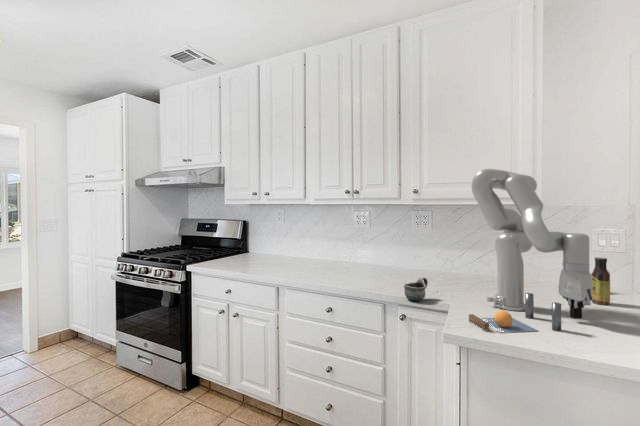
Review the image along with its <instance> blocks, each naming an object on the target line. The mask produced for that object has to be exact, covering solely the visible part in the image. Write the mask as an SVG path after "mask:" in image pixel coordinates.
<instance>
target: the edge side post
mask: <svg viewBox="0 0 640 426" xmlns="http://www.w3.org/2000/svg"><path fill="white" fill-rule="evenodd" d="M551 330H552V331H554V332H562V303H560V302H551Z"/></svg>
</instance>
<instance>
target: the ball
mask: <svg viewBox="0 0 640 426" xmlns="http://www.w3.org/2000/svg"><path fill="white" fill-rule="evenodd" d="M493 318H494V320H495V322H496V324H497V325H499V326H500V327H509V326H510V325H511V324H512V321H513V319H512V318H513V317H512V315H511V313H509V312H508V311H506V310H498V311H497V312H495V314H494V317H493Z"/></svg>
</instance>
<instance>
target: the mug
mask: <svg viewBox="0 0 640 426" xmlns="http://www.w3.org/2000/svg"><path fill="white" fill-rule="evenodd" d="M428 282H429V281H428V279H427V278H426V277H424V276H420V277H418V278H417V280H416V282H408V283H405V284H403V288H404V295H405V297H406V299H408V300H409V301H412V302H419V301H423V300H424V299H425V297H426V289H427V287H428V284H429V283H428Z"/></svg>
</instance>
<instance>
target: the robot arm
mask: <svg viewBox="0 0 640 426" xmlns="http://www.w3.org/2000/svg"><path fill="white" fill-rule="evenodd" d="M537 186H538V184H537V181H536V179H535V178H534V177H533V176H531V175H526V174H521V173H516V172H512V171H507V170H503V169H495V168H484V169H481V170H479V171H478V172H476V174H475V175H474V176H473V178H472V181H471V191H472V194H473V196H474V199H475V201H476V202H477V204H478V205H479V208H480V210H481V212H482V214H483V216H484V218H485V220H486V222H487V224H488V226H489V228H491V229H492V230H494V231H503V232H502V233H500V234H499V235H498V236H497V237H496V239H495V242H494V247H495V252H496V260H497V263H496V264H497V294H494V296H492V297H491V296H490V297H489V296H487V297H486V302H488V303H493V306H494V307H496V308H499V309H502V310H505V311H506V310H508V311H518V312H519V311H520V312H523V311H525V297H524V295H525V293H524V290H525V287H524V286H525V279H524V277H525V273H524V270H525V269H524V260H523V255H522V253H526V252H529V251H530V250H531V249H532V247H534V248H535V250H537V251H538V252H541V253H554V252H562V269H561V271H560V273H559V280H558V293H559V296H561V298H563V299H564V300H566V301H567V304H568V306H569V318H572V319H574V320H580V319H581V320H582V318H583V309H584V308H585V306H591V305H592V303H591V302H592V299H593V286H592V279H591V274H592V273H591V272H590V267H589V266H590V237H589V235H588V234H586V233H579V232H578V233H576V232H575V233H574V232H571V233H569V232H568V233H567V232H566V233H565V232H559V231H549V229H548V228H547V227H546V225H545V223H544V221H543V218H542V213H543V209H544V203H543V202H542V200H541V198H540V197H539V196H538V194H537V192H536V190H537ZM493 189H495V190H497V189H498V190H501V191H502V190H503V191H506V192H507V194H508V196H509V198H510V199H511V200H512V202H513V204H514V206H515V208H516V209H517V210H518V211H516V210H514V209H511V208H506V207H505V206H504V205H503V203H502V201H501V199H500V197H499V196H498V195H497V194H496V191H494V190H493ZM518 212H519V213H518Z"/></svg>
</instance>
